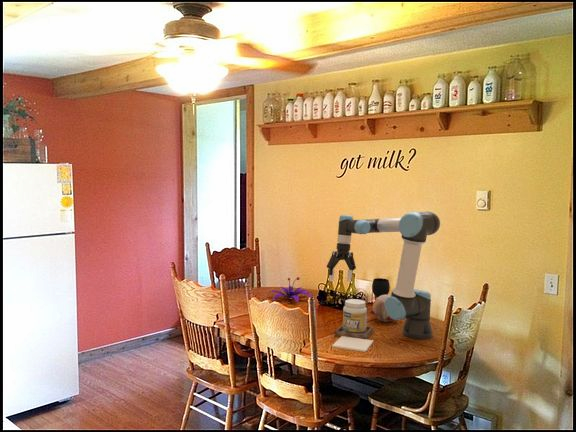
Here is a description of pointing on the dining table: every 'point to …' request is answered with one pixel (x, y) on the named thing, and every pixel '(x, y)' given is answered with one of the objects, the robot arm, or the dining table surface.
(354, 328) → the supplement tub
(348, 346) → the off-white mat
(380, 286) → the wine glass
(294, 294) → the decorative flower
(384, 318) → the ornament
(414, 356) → the dining table surface
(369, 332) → the walnut collar
